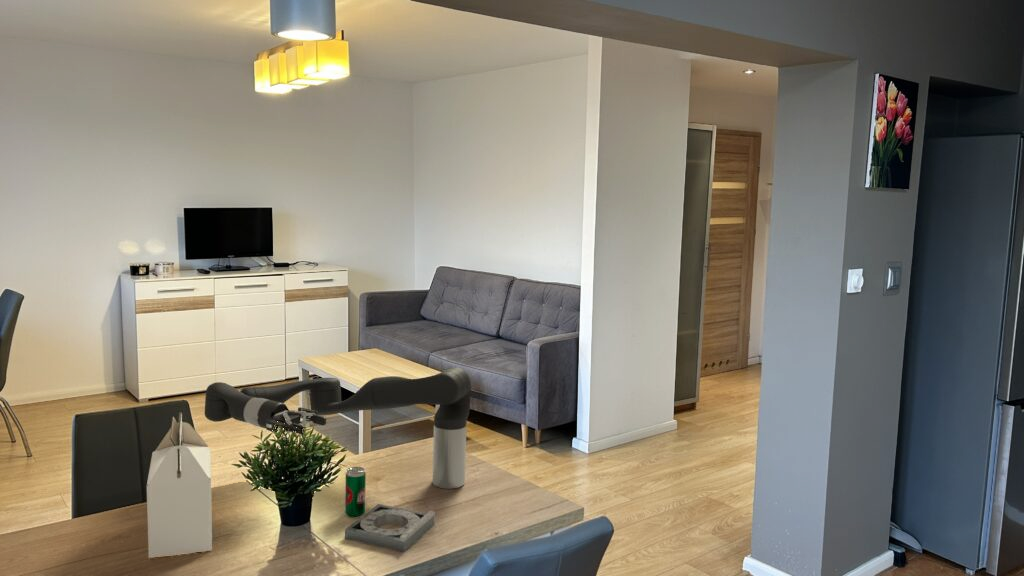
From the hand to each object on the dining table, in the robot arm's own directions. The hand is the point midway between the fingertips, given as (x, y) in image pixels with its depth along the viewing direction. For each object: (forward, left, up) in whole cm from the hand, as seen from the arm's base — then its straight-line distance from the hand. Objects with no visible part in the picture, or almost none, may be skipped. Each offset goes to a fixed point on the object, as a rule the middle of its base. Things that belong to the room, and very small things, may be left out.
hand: (315, 426), depth 204 cm
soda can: (+1, +13, -22) cm, 25 cm away
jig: (+6, +26, -21) cm, 34 cm away
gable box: (+28, -18, -22) cm, 40 cm away
